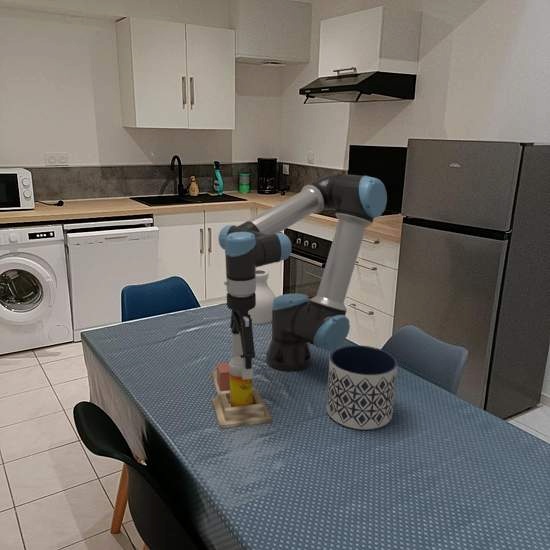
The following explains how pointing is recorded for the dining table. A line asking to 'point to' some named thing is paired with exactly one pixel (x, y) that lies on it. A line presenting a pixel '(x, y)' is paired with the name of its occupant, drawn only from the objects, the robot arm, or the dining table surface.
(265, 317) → the vase
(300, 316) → the robot arm
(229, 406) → the dock
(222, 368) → the salmon pink block
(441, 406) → the dining table surface
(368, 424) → the planter
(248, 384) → the beer can
